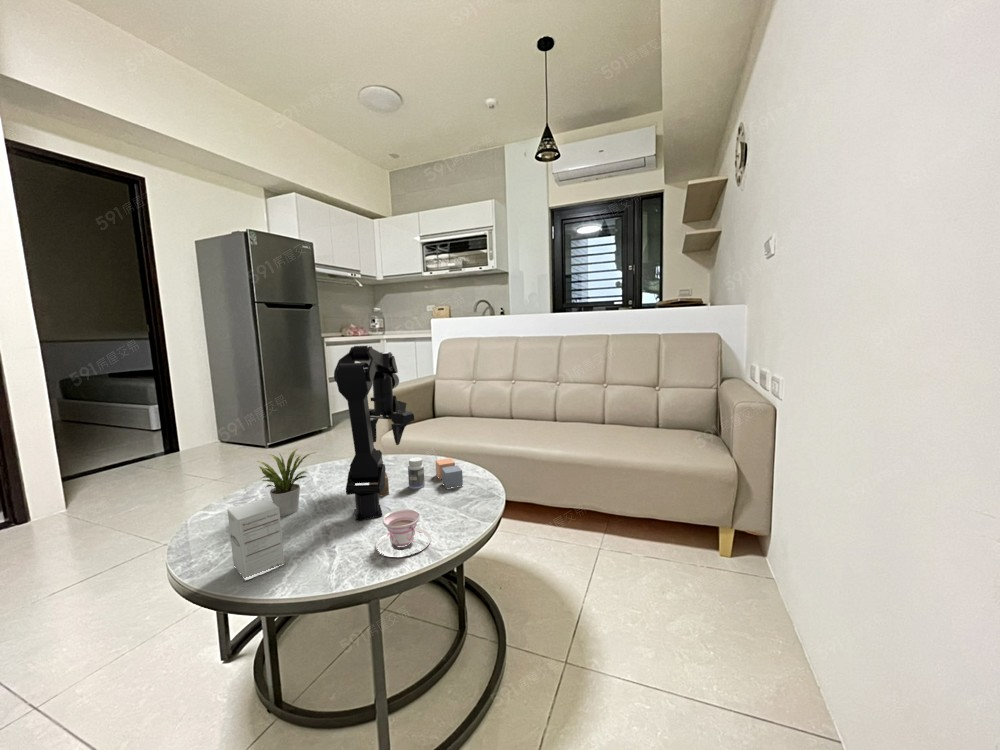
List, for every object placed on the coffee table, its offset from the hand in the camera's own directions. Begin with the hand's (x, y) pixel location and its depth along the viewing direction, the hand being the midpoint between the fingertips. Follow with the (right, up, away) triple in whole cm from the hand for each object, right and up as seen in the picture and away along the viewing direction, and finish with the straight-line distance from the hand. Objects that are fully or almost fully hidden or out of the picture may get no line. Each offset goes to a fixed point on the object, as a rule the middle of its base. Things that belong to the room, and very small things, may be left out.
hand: (386, 443), depth 122 cm
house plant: (-21, -15, -16) cm, 30 cm away
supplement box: (-13, -18, -42) cm, 48 cm away
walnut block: (0, -13, -7) cm, 15 cm away
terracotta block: (+18, -12, +5) cm, 22 cm away
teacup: (+14, -16, -35) cm, 41 cm away
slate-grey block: (+21, -12, -2) cm, 24 cm away
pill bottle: (+10, -13, -2) cm, 16 cm away
